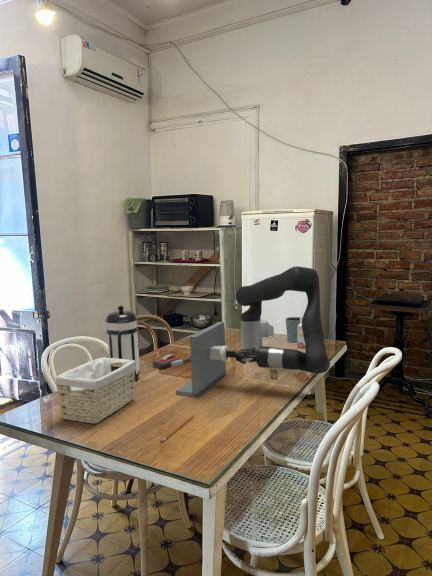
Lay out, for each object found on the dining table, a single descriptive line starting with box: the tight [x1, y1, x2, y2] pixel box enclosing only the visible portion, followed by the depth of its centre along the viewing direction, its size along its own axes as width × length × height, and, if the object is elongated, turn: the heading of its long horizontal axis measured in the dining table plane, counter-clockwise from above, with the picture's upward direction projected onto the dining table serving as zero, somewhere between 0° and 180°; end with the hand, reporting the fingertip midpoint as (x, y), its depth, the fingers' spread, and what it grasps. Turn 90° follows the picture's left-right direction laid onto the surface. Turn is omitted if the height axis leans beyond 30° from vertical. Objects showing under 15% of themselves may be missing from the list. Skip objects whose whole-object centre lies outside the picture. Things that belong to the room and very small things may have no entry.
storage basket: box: [55, 356, 136, 424], centre depth 144 cm, size 24×16×15 cm
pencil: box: [159, 415, 195, 444], centre depth 128 cm, size 1×1×19 cm
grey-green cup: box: [285, 316, 303, 344], centre depth 226 cm, size 10×10×12 cm
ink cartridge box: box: [296, 317, 305, 349], centre depth 211 cm, size 9×5×15 cm, turn 65°
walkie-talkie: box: [152, 353, 191, 370], centre depth 193 cm, size 9×4×20 cm
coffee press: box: [104, 305, 141, 382], centre depth 174 cm, size 17×16×30 cm
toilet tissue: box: [261, 319, 275, 339], centre depth 238 cm, size 9×13×9 cm
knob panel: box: [175, 321, 227, 398], centre depth 163 cm, size 13×26×22 cm, turn 157°
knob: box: [219, 345, 230, 362], centre depth 161 cm, size 6×6×6 cm
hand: (227, 353), depth 160 cm, fingers closed
